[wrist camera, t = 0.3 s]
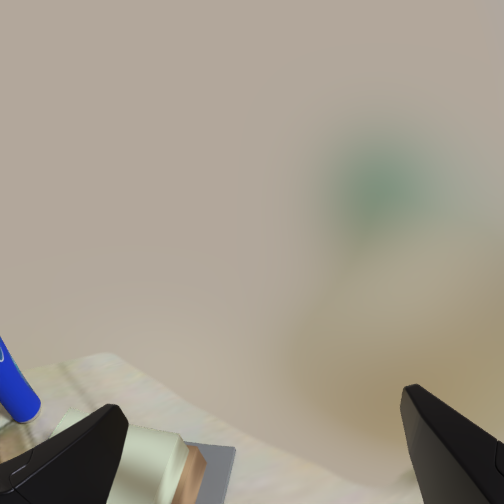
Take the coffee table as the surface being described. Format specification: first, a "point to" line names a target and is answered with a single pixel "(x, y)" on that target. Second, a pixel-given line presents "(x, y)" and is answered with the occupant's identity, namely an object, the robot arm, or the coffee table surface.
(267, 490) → the coffee table surface
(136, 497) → the plinth
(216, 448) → the grey square plate
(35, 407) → the beverage can
